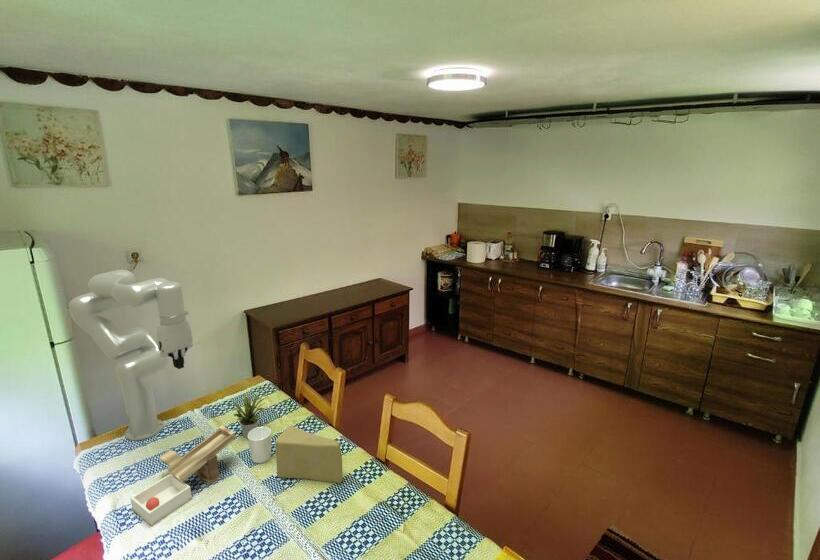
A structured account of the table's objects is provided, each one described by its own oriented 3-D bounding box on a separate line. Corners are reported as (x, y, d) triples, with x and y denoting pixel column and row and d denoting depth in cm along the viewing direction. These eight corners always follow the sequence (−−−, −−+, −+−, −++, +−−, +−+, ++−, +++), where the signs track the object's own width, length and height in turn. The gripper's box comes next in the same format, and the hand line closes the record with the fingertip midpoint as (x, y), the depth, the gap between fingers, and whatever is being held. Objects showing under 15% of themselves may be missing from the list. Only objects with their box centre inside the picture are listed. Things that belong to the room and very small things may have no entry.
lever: (156, 465, 134) (152, 456, 133) (210, 426, 150) (207, 417, 148) (183, 485, 127) (179, 475, 125) (237, 441, 142) (234, 432, 140)
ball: (157, 498, 126) (148, 509, 124) (150, 493, 124) (140, 504, 121) (164, 502, 124) (154, 514, 122) (157, 498, 122) (147, 509, 120)
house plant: (280, 431, 161) (277, 395, 157) (250, 450, 150) (246, 412, 146) (256, 419, 169) (254, 384, 164) (226, 436, 157) (222, 399, 153)
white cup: (265, 466, 143) (263, 442, 140) (245, 462, 144) (243, 438, 141) (276, 451, 150) (275, 428, 147) (257, 448, 152) (255, 425, 149)
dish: (132, 509, 123) (130, 497, 122) (172, 484, 133) (171, 473, 132) (151, 526, 118) (149, 513, 117) (191, 498, 128) (190, 486, 127)
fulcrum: (193, 472, 139) (190, 450, 136) (204, 466, 142) (201, 444, 139) (210, 484, 134) (207, 461, 131) (221, 477, 137) (218, 454, 135)
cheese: (347, 472, 141) (347, 435, 137) (335, 492, 132) (334, 453, 128) (291, 459, 147) (289, 423, 143) (276, 478, 138) (273, 440, 134)
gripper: (187, 310, 145) (193, 356, 150) (143, 322, 133) (151, 373, 138) (200, 314, 141) (205, 362, 146) (155, 327, 129) (163, 379, 134)
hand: (179, 367), depth 142 cm, fingers closed
